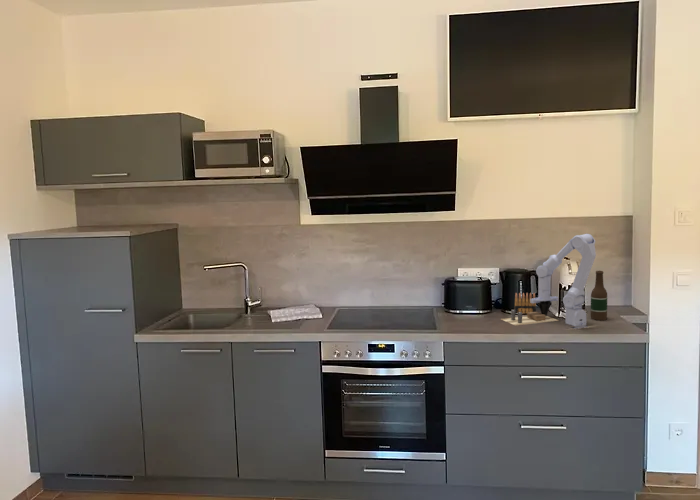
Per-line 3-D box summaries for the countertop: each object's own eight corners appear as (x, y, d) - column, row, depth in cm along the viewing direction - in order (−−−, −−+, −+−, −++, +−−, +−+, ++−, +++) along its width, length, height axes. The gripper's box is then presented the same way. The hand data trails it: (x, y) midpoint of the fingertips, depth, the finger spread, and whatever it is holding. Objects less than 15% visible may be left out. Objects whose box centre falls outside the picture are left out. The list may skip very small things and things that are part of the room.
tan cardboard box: (545, 320, 287) (545, 315, 287) (536, 321, 286) (536, 316, 285) (536, 316, 295) (536, 311, 294) (527, 317, 293) (527, 312, 293)
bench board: (559, 322, 286) (559, 320, 286) (515, 327, 279) (515, 325, 279) (542, 316, 299) (542, 314, 299) (500, 321, 293) (500, 319, 293)
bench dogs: (522, 325, 284) (522, 312, 283) (519, 325, 283) (519, 313, 283) (513, 321, 291) (513, 309, 291) (510, 321, 291) (510, 309, 290)
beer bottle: (601, 321, 285) (602, 272, 282) (587, 318, 292) (587, 271, 289) (610, 318, 290) (611, 270, 287) (595, 316, 296) (596, 269, 293)
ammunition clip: (535, 315, 303) (535, 292, 302) (536, 315, 301) (536, 292, 300) (514, 314, 305) (514, 292, 304) (514, 315, 303) (514, 292, 302)
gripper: (552, 286, 295) (552, 313, 297) (526, 289, 292) (526, 315, 293) (560, 289, 289) (560, 316, 290) (535, 291, 285) (534, 318, 286)
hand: (544, 316), depth 291 cm, fingers closed
